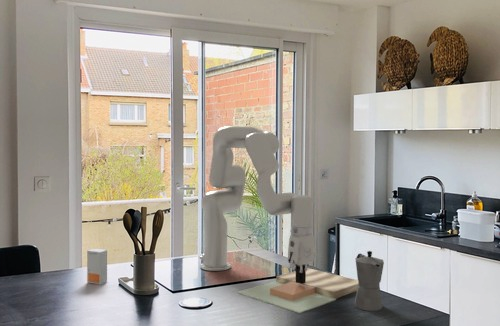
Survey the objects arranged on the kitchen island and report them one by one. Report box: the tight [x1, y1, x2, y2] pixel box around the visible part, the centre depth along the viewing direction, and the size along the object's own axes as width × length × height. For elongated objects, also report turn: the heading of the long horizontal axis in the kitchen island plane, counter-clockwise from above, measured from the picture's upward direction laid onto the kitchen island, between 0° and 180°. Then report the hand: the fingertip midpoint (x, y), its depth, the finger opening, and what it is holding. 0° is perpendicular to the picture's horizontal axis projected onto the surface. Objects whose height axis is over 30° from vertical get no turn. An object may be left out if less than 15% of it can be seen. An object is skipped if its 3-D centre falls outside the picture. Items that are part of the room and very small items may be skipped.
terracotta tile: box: [270, 282, 315, 301], centre depth 179 cm, size 10×12×2 cm
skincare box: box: [86, 248, 108, 286], centre depth 191 cm, size 6×4×12 cm
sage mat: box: [236, 280, 337, 314], centre depth 177 cm, size 28×19×1 cm
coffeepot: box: [354, 250, 385, 312], centre depth 169 cm, size 15×9×18 cm, turn 13°
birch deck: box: [275, 267, 358, 300], centre depth 190 cm, size 26×18×2 cm
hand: (300, 282), depth 183 cm, fingers closed
